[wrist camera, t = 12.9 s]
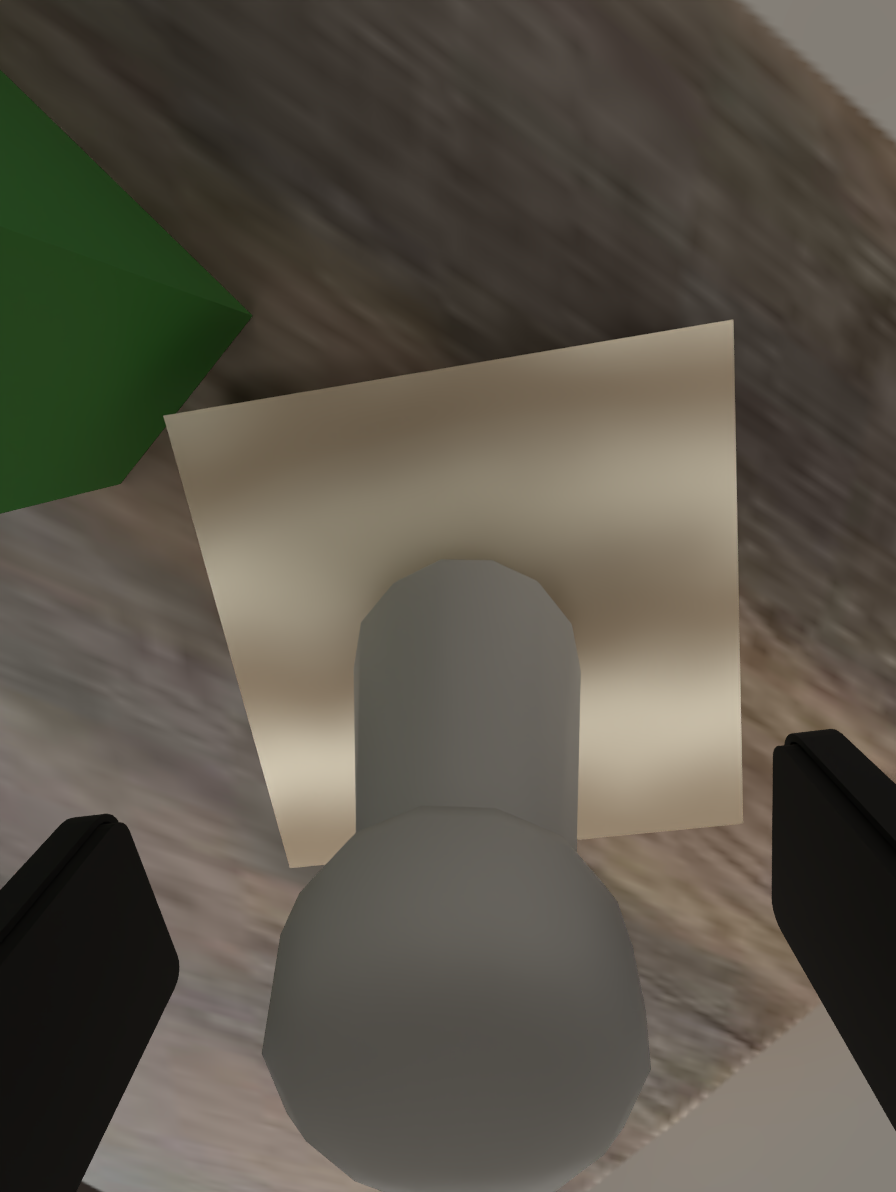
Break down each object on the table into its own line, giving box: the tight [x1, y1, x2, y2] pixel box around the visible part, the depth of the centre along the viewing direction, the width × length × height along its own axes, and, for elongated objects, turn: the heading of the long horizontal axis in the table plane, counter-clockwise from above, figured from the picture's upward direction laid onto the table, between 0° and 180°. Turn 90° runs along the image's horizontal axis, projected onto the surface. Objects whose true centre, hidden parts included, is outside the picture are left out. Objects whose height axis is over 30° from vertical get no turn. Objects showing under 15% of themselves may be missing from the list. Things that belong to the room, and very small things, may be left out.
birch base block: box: [163, 320, 743, 868], centre depth 20 cm, size 15×15×4 cm
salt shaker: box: [262, 559, 651, 1192], centre depth 12 cm, size 6×6×13 cm
